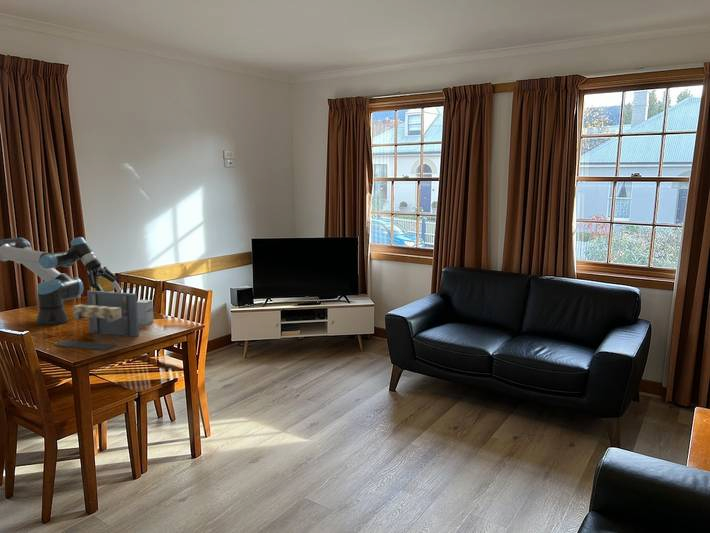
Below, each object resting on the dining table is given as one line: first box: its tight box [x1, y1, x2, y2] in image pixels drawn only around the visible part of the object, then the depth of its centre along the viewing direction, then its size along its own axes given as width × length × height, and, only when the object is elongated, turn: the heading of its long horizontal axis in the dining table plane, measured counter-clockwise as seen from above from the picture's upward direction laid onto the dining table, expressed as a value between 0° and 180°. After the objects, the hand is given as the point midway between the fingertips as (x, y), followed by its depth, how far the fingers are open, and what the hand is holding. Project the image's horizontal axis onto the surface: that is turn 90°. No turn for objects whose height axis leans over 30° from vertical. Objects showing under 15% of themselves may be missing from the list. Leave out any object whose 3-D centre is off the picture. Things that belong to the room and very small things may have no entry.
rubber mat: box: [53, 339, 117, 352], centre depth 251 cm, size 28×8×1 cm, turn 77°
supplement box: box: [137, 299, 155, 326], centre depth 292 cm, size 7×7×13 cm
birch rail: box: [73, 304, 122, 319], centre depth 259 cm, size 24×4×5 cm, turn 77°
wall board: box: [86, 290, 140, 337], centre depth 270 cm, size 28×2×22 cm, turn 77°
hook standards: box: [74, 294, 131, 338], centre depth 263 cm, size 20×14×21 cm
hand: (112, 293), depth 295 cm, fingers open, 13 cm apart
